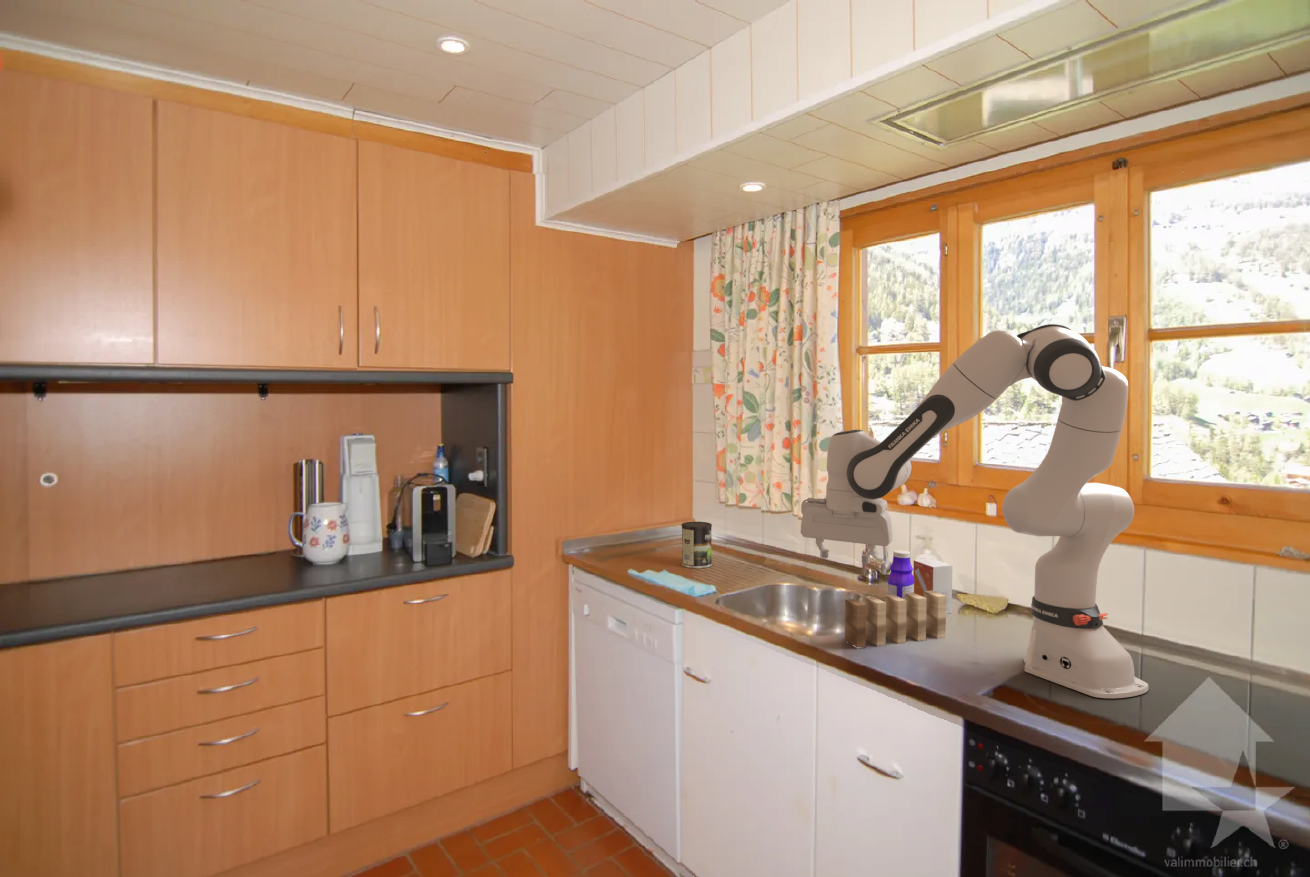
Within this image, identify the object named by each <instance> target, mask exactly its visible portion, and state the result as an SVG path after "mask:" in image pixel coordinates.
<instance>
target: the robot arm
mask: <svg viewBox="0 0 1310 877" xmlns="http://www.w3.org/2000/svg"><path fill="white" fill-rule="evenodd" d="M1030 378H1031V379H1033V380H1035V381H1036V382H1037V383H1038V385H1040V387H1042V388H1043V389H1044V390H1045V391H1048V392H1050V393H1051V394H1054V395H1057V396H1060V397H1061V406H1060V408H1059V413H1058V416H1057V417H1058V418H1057V421H1056V424H1055V428H1054V432H1053V435H1052V439H1051V442H1050V445H1049V449H1048V451H1047V453H1046V455H1045V456H1044V458H1043V460H1042V461H1041V463H1040V464H1039V465H1038V467H1037V468H1036V469H1035V471H1033V472H1032V473H1031V475H1029V476H1028V477H1027V478H1026V479H1025V480H1024V481H1023V482H1021V483H1019V484H1018V485H1016V486H1014V487H1012V488H1011V489H1010V490H1008V492H1007V493H1006V494H1005V496H1004V499H1003V501H1002V506H1001V508H1002V509H1001V510H1002V516H1003V518H1004V521H1005V523H1006V524H1007V526H1008V528H1010V529H1011V530H1012V531H1013V532H1015V533H1018V534H1023V535H1027V536H1034V537H1059V538H1058V540H1057V542H1056V544H1055V545H1054V546H1053V548H1052V549H1050V550H1049V551H1048V552H1046V553H1044V554H1042V555H1041V556H1040V557H1039V558H1038V559H1037V561H1036V563H1035V566H1034V595H1033V596H1032V597H1031V606H1030V607H1031V611H1030V612H1031V615H1032V626H1031V630H1030V635H1029V636H1030V637H1029V641H1028V647H1027V650H1026V653H1025V655H1024V658H1023V663H1024V667H1023V668H1024V669H1023V670H1024V672H1026V673H1028V674H1031V675H1033V676H1036V677H1039V678H1042V679H1044V680H1047V681H1050V682H1052V683H1055V684H1057V685H1061V686H1064V687H1066V688H1069V689H1071V690H1074V691H1077V692H1080V693H1083V694H1084V695H1088V696H1091V697H1094V698H1099V699H1123V698H1124V699H1126V698H1131V697H1136V696H1140V695H1144V694H1145V693H1147V692H1148V691H1149V689H1150V688H1149V683H1147V682H1145V681H1144V680H1142V679H1140V678H1138V677H1136V676H1135V668H1134V667H1135V666H1134V661H1133V657H1132V656H1131V654H1130V652H1128V651H1127V650H1126V648H1124V647H1123V646H1122V645H1121V644H1120V642H1119V641H1118V640H1117V639H1116V638H1115V637H1114V636H1113V635H1112V634H1111V633H1110V632H1109V631H1108V630H1107V629H1106V628H1105V627H1104V621H1103V620H1107V619H1108V617H1106V616H1108V615H1109V613H1107V612H1105V613H1101V611H1100V608H1099V606H1098V605H1097V603H1096V600H1097V597H1096V595H1097V583H1098V573H1099V568H1100V564H1101V561H1102V559H1103V556H1104V554H1105V553H1106V551H1107V549H1108V548H1109V546H1110V544H1111V543H1113V541H1114V539H1115V538H1116V537H1118V535H1119V534H1121V533H1123V532H1124V531H1125V530H1127V529H1128V528H1129V527H1130V526H1131V524H1132V522H1133V520H1134V516H1135V505H1134V502H1133V499H1132V498H1131V496H1130V495H1129V493H1128V492H1127V491H1126V490H1125V489H1124V488H1122V487H1120V486H1117V485H1112V484H1108V483H1107V484H1106V483H1103V482H1102V483H1100V482H1089V481H1090V480H1093V478H1095V477H1097V476H1098V475H1100V474H1102V473H1104V472H1105V471H1107V469H1109V468H1110V467H1111V466H1112V464H1113V462H1114V460H1115V456H1116V453H1117V450H1118V446H1119V442H1120V440H1121V439H1120V438H1121V435H1122V431H1123V427H1124V424H1125V420H1126V415H1127V414H1126V413H1127V409H1128V400H1129V383H1128V382H1129V381H1128V380H1127V378H1126V376H1125V375H1124V374H1123V373H1122V372H1119V370H1116V369H1113V368H1110V367H1108V366H1106V367H1105V366H1102V364H1101V360H1100V358H1099V355H1098V353H1097V351H1096V350H1095V349H1094V347H1093V346H1092V345H1090V343H1089V342H1088V341H1087V339H1085V338H1084V336H1082V335H1081V334H1079V333H1077V332H1075V331H1073V330H1072V329H1071V328H1069V327H1067V326H1064V325H1062V324H1057V323H1056V324H1055V323H1053V324H1052V323H1048V324H1043V325H1040V326H1038V327H1035V328H1032V329H1030V330H1027V331H1024V332H1022V333H1019V334H1016V335H1015V334H1014V333H1012V332H1009V331H1005V330H993V331H991V332H988V333H987V334H986V335H984V336H983V337H981V338H980V339H979V340H978V341H976V342H975V343H973V344H972V345H971V346H969V347H968V349H966V350H965V351H964V352H963V353H961V355H960V356H958V358H956V359H955V361H954V362H952V364H950V366H948V368H947V369H946V370H945V371H944V372H943V373H942V375H941V376H940V377H939V378H938V379H937V381H936V382H935V383H934V385H933V386H932V387H931V389H930V390H929V392H928V393H927V394H926V395H925V396H924V397H923V399H922V400H921V402H920V403H919V404H918V405H917V406H916V407H915V409H914V410H913V411H912V413H910V414H909V415H908V416H907V417H906V418H905V419H904V420H903V421H902V422H901V423H900V424H899V425H898V426H897V427H896V428H895V429H894V430H892V432H890V433H889V434H888V436H887V437H886V438H884V439H883V440H882V441H880V440H878V439H876V438H874V437H872V436H870V435H869V434H867V432H866V431H864V430H862V429H851V430H845V431H838V432H836V433H834V434H833V435H832V436H831V437H830V439H829V441H828V447H827V454H826V471H827V478H828V479H827V482H826V486H825V490H826V491H825V492H826V493H825V495H826V496H825V498H814V497H807V498H806V499H803V501H802V502H801V505H800V512H801V514H802V517H801V523H800V534H801V535H802V536H803V537H804V538H807V539H808V538H809V539H815V544H816V547H818V549H819V551H820V552H819V554H820V555H819V557H820V558H821V559H828V558H829V549H828V548H827V549H826V548H825V546H824V544H823V543H824V542H825V540H828V541H835V542H837V541H838V542H845V543H853V544H861V545H866V549H867V550H868V551H867V553H863V554H862V555H861V564H867V565H868V564H870V562H871V555H872V553H873V552H874V551H875V549H876V546H881V547H887V546H888V545H890V544H891V543H892V540H893V526H892V519H891V516H890V514H889V513H888V512H887V511H886V510H887V508H888V501H887V500H886V499H884V496H886V495H888V494H889V493H891V492H892V491H894V490H895V489H897V488H899V487H901V486H903V485H905V483H907V482H908V480H909V479H910V477H911V475H912V472H913V463H912V461H911V459H912V458H913V457H914V456H915V455H916V454H918V452H919V451H920V450H922V449H923V447H924V446H926V445H927V444H928V443H929V442H930V441H931V440H932V439H934V438H935V437H936V436H938V435H940V434H941V433H944V432H945V431H947V430H950V429H951V428H954V427H956V426H960V425H961V424H963V423H966V422H968V421H970V420H971V419H973V418H975V417H976V416H978V415H979V414H981V413H982V412H983V411H985V410H986V409H987V408H988V407H989V406H991V405H992V404H993V403H994V402H995V401H996V400H997V399H998V398H1000V397H1001V395H1002V394H1003V393H1004V392H1005V391H1006V390H1007V389H1008V388H1009V387H1011V386H1013V385H1014V384H1015V383H1018V382H1020V381H1022V380H1024V379H1030Z"/></svg>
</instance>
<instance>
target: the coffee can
mask: <svg viewBox="0 0 1310 877" xmlns="http://www.w3.org/2000/svg"><path fill="white" fill-rule="evenodd" d="M712 526H713V524H712V523H710V522H707V521H686V522H682V523H681V553H682V554H681V559H682V560H681V565H682V567H683V568H686V569H687V568H688V569H707V568H710V567H712V565H713V563H712V560H713V559H712V553H713V552H712Z"/></svg>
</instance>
